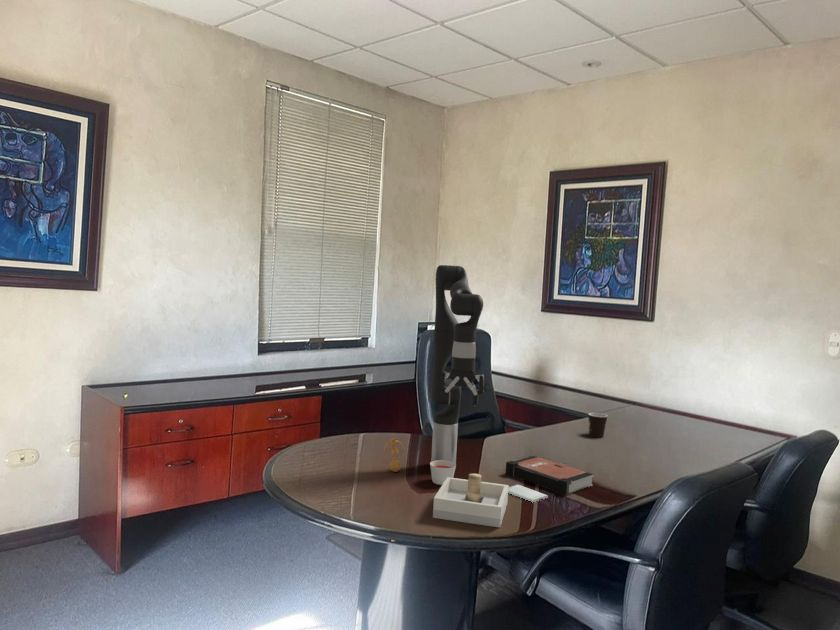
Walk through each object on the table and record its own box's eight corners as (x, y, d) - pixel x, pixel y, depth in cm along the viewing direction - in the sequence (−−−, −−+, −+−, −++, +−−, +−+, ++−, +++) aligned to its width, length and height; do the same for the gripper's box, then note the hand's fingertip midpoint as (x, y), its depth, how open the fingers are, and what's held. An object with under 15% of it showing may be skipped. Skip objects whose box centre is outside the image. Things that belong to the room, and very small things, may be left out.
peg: (467, 503, 199) (469, 472, 198) (480, 505, 198) (482, 474, 197) (465, 508, 195) (467, 476, 194) (478, 510, 194) (480, 478, 193)
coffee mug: (602, 439, 287) (604, 418, 286) (584, 436, 291) (585, 414, 291) (610, 434, 296) (611, 413, 296) (592, 431, 301) (593, 410, 300)
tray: (446, 495, 205) (447, 477, 205) (507, 503, 201) (508, 485, 200) (432, 517, 186) (433, 497, 186) (500, 527, 181) (501, 507, 181)
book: (594, 486, 223) (595, 472, 222) (566, 496, 211) (567, 482, 211) (534, 467, 242) (535, 454, 242) (505, 475, 230) (506, 462, 230)
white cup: (456, 479, 221) (457, 461, 221) (452, 487, 213) (453, 469, 212) (431, 476, 223) (432, 459, 223) (426, 484, 214) (427, 466, 214)
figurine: (386, 474, 223) (388, 441, 222) (380, 469, 228) (381, 437, 227) (407, 472, 227) (409, 439, 226) (400, 467, 232) (402, 435, 231)
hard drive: (503, 488, 211) (532, 499, 202) (518, 484, 217) (548, 494, 208) (502, 493, 211) (532, 504, 202) (518, 488, 217) (547, 499, 208)
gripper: (487, 355, 204) (484, 404, 205) (444, 352, 208) (442, 400, 209) (484, 358, 197) (481, 409, 198) (439, 355, 200) (437, 405, 201)
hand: (461, 404), depth 203 cm, fingers open, 8 cm apart
